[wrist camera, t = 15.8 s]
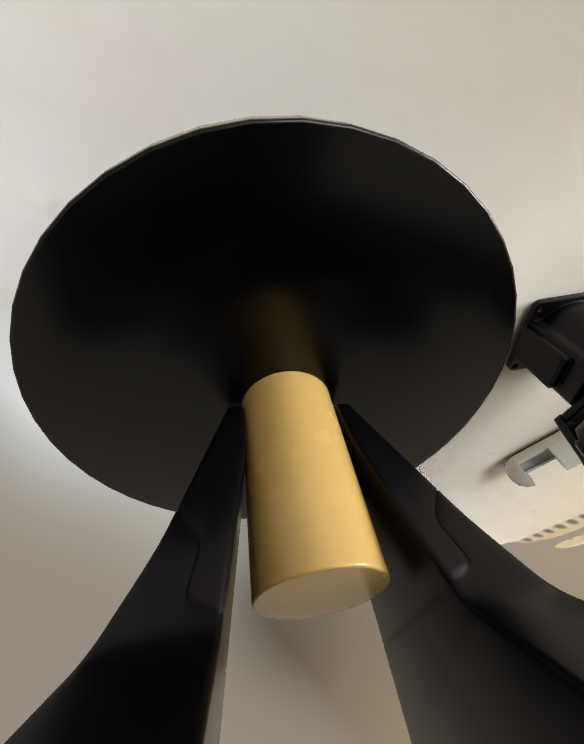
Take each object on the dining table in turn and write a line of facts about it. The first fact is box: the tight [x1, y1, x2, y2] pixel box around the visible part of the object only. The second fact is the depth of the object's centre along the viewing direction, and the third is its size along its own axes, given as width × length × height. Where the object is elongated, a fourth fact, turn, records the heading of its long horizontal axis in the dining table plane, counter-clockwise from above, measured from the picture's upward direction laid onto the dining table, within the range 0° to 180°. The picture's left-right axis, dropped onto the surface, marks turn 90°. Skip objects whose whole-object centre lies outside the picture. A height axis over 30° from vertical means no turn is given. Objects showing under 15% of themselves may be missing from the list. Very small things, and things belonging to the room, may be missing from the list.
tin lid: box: [10, 116, 517, 619], centre depth 9 cm, size 14×14×6 cm
